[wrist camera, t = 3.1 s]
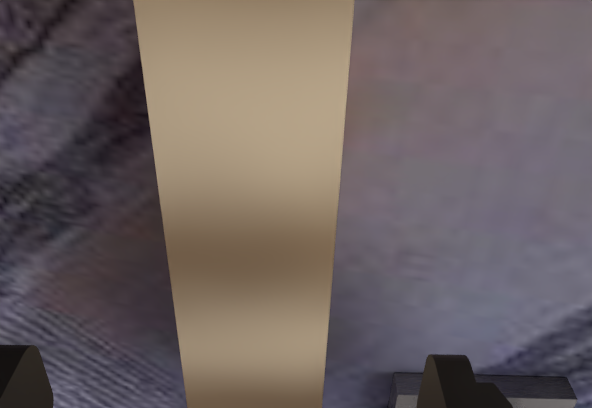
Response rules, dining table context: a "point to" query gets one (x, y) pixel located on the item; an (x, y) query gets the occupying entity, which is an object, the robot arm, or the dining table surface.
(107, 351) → the dining table surface
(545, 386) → the cup bracket
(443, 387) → the robot arm
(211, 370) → the maple rail
